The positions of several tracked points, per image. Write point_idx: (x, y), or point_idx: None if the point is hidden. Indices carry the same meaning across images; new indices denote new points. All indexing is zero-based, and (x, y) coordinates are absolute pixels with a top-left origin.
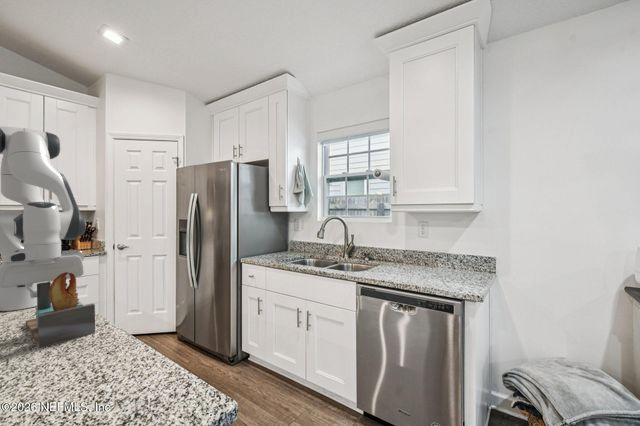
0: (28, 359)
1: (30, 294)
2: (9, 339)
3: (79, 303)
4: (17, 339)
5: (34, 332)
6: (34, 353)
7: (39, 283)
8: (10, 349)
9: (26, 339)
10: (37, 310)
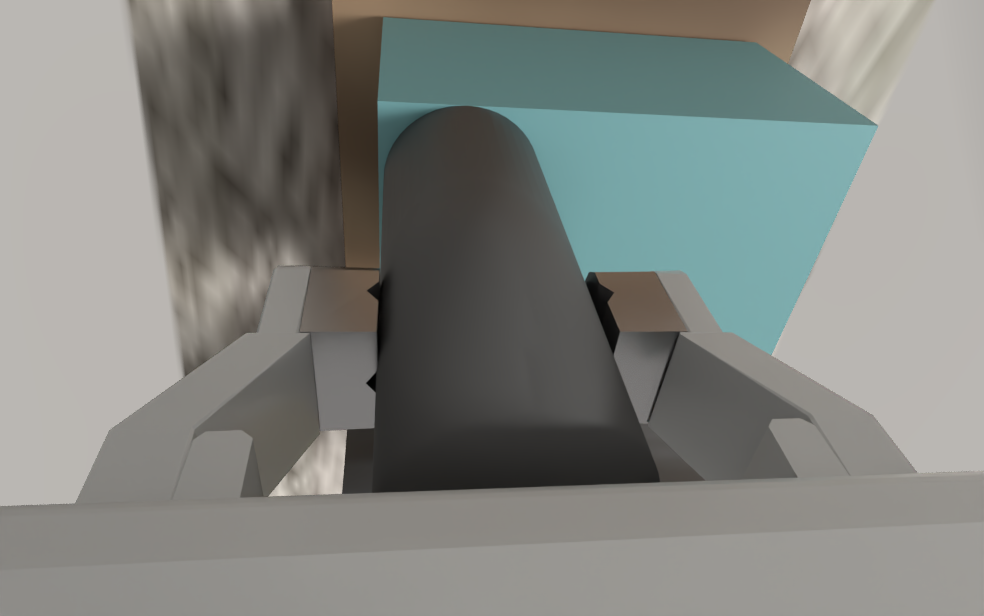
0: (294, 486)
1: (269, 306)
2: (158, 4)
3: (780, 305)
4: (227, 78)
5: (349, 175)
6: (323, 440)
7: (443, 465)
8: (197, 284)
9: (294, 149)
10: (379, 216)
